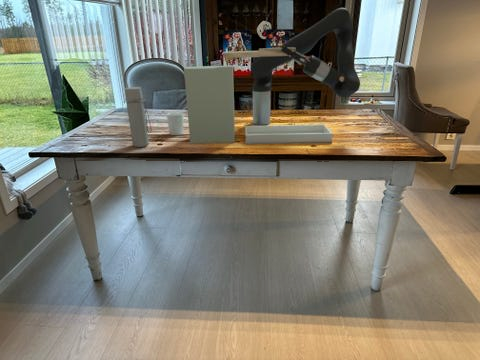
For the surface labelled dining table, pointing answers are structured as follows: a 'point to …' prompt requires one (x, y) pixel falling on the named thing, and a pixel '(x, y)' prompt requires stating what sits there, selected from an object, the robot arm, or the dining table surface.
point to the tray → (288, 134)
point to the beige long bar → (257, 53)
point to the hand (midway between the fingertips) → (282, 48)
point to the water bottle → (137, 116)
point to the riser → (210, 104)
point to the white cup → (175, 123)
